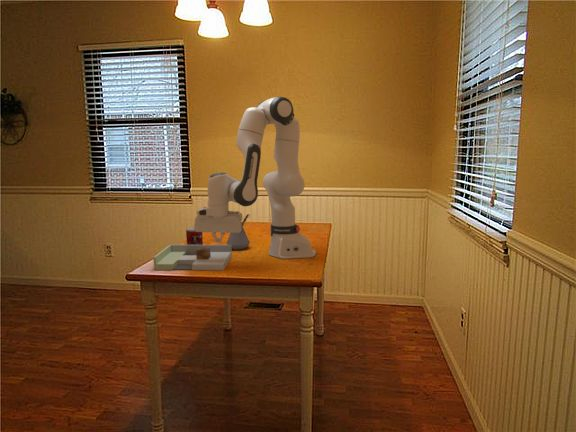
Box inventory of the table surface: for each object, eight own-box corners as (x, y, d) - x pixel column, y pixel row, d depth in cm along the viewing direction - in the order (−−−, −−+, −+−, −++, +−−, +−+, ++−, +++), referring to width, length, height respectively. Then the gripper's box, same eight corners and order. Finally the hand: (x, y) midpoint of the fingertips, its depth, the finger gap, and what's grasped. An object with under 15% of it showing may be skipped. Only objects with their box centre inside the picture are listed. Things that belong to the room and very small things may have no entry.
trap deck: (231, 256, 186) (231, 244, 185) (223, 270, 165) (223, 257, 164) (170, 256, 187) (169, 244, 186) (154, 270, 166) (153, 257, 165)
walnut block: (210, 256, 177) (210, 247, 177) (208, 259, 172) (207, 250, 172) (199, 256, 177) (198, 247, 177) (196, 259, 173) (196, 250, 172)
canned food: (187, 252, 192) (186, 230, 191) (186, 248, 200) (185, 227, 198) (203, 251, 194) (202, 229, 193) (202, 247, 202) (201, 226, 200)
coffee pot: (244, 251, 194) (243, 221, 191) (222, 250, 197) (221, 220, 194) (259, 241, 214) (258, 214, 212) (239, 240, 217) (238, 213, 215)
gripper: (243, 210, 174) (243, 241, 176) (196, 209, 174) (197, 240, 176) (241, 212, 168) (241, 244, 170) (192, 211, 168) (193, 243, 170)
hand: (218, 242), depth 173 cm, fingers closed
